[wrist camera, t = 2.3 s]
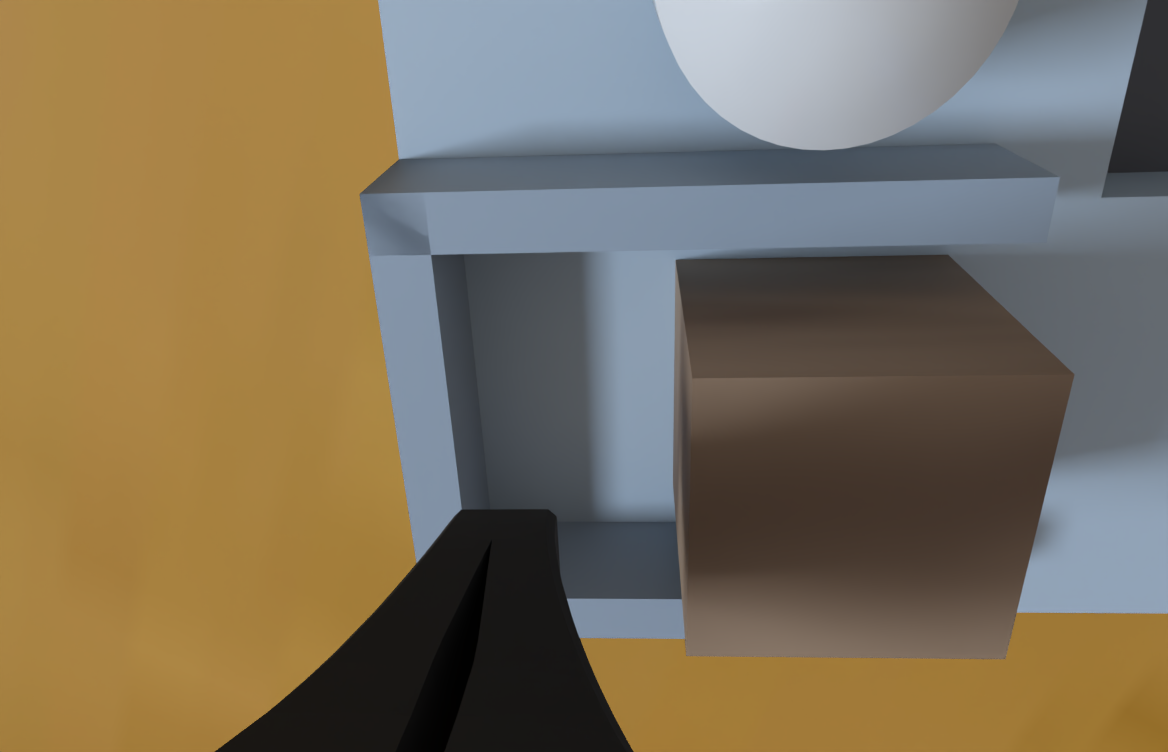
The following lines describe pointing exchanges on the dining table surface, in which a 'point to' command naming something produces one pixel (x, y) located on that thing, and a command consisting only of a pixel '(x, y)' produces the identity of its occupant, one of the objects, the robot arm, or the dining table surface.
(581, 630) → the deck
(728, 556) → the walnut block
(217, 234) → the dining table surface
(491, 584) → the robot arm
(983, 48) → the white egg
